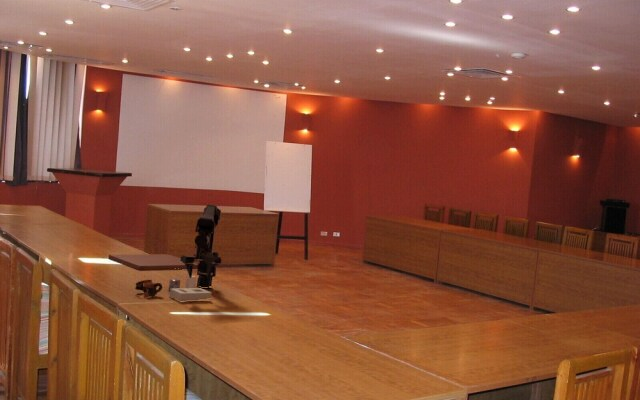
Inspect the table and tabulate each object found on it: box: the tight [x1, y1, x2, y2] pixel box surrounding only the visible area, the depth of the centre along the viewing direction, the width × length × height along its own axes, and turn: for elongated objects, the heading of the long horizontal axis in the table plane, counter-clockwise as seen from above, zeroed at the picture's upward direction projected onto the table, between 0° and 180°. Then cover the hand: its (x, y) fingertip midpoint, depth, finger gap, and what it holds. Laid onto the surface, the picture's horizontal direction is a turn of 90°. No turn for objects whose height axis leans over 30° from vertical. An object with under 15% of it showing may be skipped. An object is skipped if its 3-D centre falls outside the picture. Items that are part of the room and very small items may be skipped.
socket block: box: [168, 287, 213, 301], centre depth 322 cm, size 16×10×4 cm, turn 130°
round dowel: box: [168, 278, 181, 293], centre depth 332 cm, size 5×5×6 cm
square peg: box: [185, 275, 197, 288], centre depth 336 cm, size 3×3×8 cm
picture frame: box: [108, 253, 198, 271], centre depth 402 cm, size 40×3×33 cm
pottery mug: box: [134, 279, 163, 298], centre depth 319 cm, size 12×10×8 cm
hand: (199, 277), depth 323 cm, fingers open, 9 cm apart
